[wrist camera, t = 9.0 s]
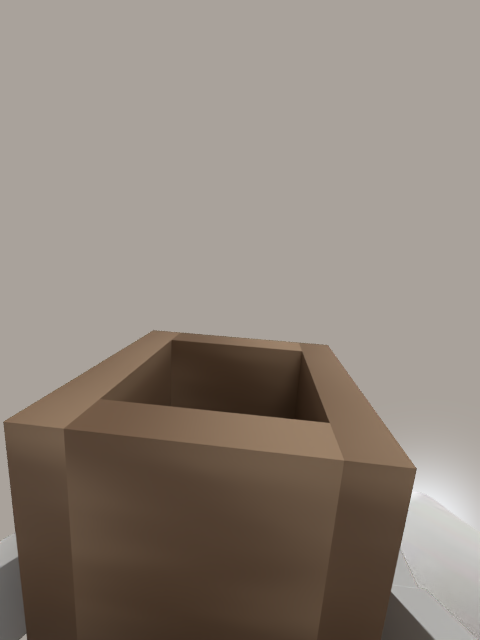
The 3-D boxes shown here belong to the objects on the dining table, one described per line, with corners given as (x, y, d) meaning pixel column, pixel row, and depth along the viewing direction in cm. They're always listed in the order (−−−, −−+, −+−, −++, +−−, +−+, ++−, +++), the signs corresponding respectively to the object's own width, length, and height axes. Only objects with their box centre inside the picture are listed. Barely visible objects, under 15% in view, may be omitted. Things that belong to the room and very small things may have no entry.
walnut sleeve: (292, 621, 10) (327, 345, 8) (315, 951, 5) (416, 468, 3) (152, 599, 11) (153, 330, 9) (54, 889, 6) (3, 421, 4)
